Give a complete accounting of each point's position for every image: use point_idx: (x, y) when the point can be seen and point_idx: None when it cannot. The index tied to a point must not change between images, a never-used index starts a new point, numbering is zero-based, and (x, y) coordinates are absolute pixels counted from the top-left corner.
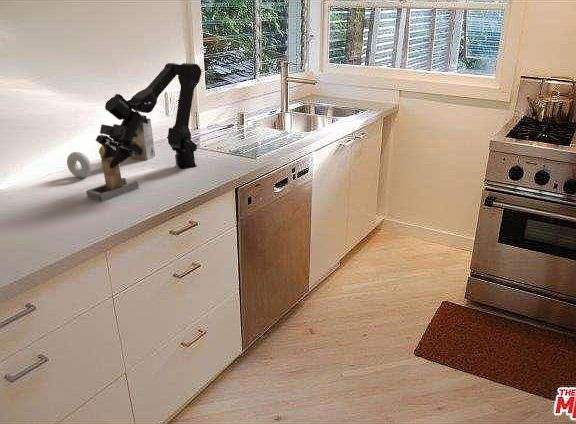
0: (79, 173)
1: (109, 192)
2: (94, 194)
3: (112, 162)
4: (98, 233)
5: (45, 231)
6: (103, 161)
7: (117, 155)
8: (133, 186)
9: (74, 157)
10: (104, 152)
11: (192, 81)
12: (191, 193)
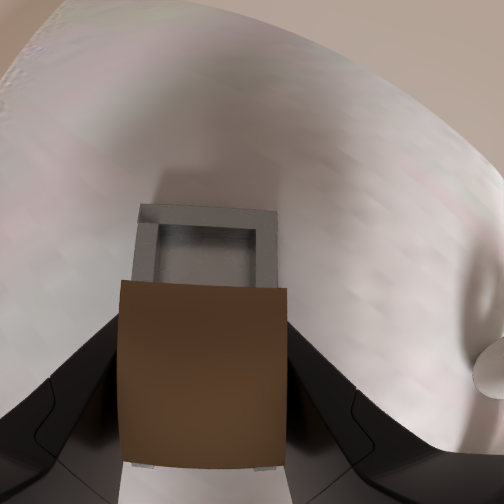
0: (491, 349)
1: (133, 260)
2: (199, 209)
3: (97, 336)
4: (12, 91)
5: (146, 35)
6: (233, 290)
7: (12, 413)
8: None
9: None
10: (393, 419)
11: None
12: None
